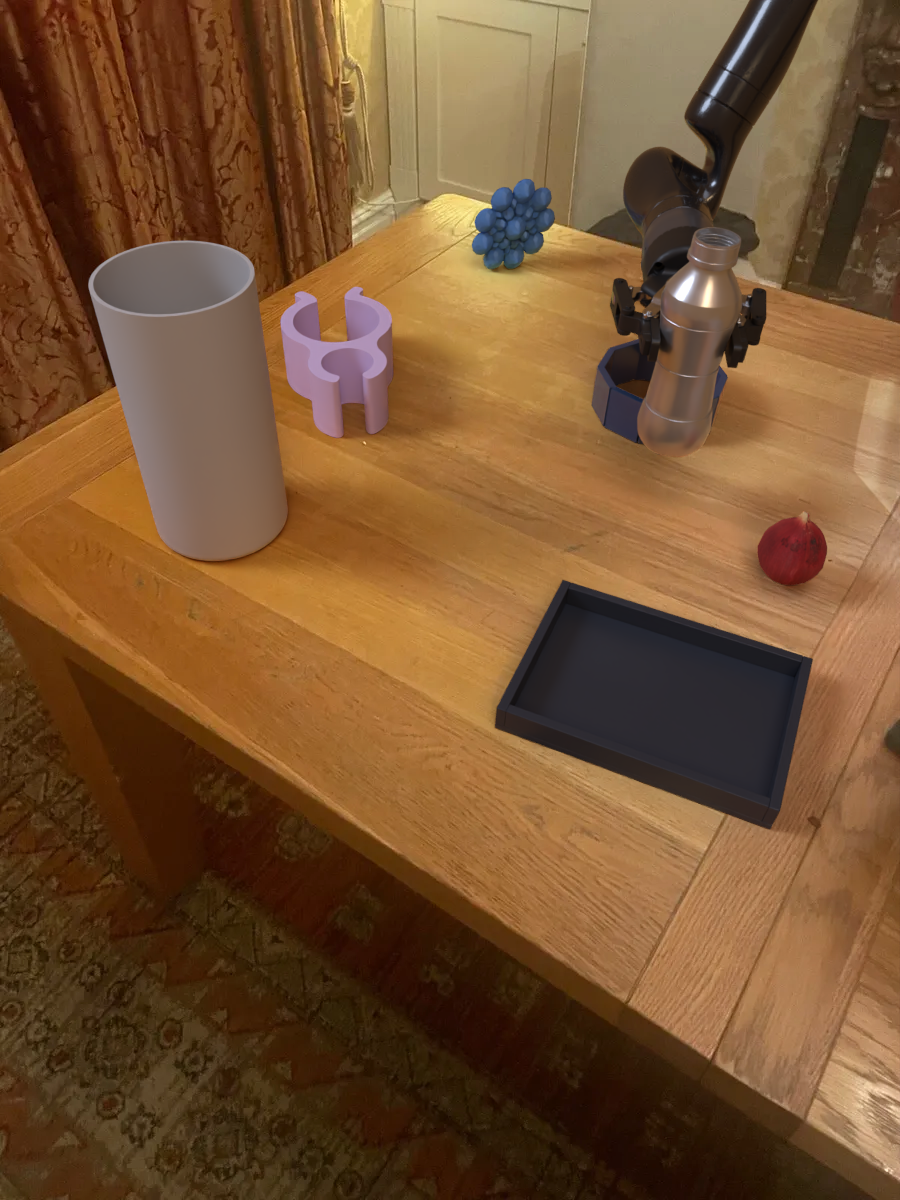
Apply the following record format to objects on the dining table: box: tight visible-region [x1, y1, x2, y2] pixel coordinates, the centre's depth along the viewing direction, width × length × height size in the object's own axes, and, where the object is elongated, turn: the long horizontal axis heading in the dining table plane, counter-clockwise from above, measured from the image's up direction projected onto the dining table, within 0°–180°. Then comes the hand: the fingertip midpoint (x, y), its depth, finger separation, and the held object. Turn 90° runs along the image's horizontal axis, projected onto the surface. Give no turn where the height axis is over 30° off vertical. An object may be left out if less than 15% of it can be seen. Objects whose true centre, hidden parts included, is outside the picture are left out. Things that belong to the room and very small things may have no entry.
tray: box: [494, 579, 814, 830], centre depth 73 cm, size 22×16×3 cm
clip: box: [279, 286, 394, 439], centre depth 103 cm, size 20×12×7 cm, turn 12°
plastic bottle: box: [637, 226, 743, 458], centre depth 78 cm, size 6×7×20 cm
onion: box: [756, 510, 828, 586], centre depth 81 cm, size 6×6×8 cm
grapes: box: [471, 178, 556, 270], centre depth 123 cm, size 12×7×12 cm, turn 106°
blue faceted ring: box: [591, 338, 729, 445], centre depth 101 cm, size 14×14×5 cm
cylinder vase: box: [88, 240, 289, 562], centre depth 79 cm, size 12×12×25 cm
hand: (694, 355), depth 76 cm, fingers closed on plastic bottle, 6 cm apart
